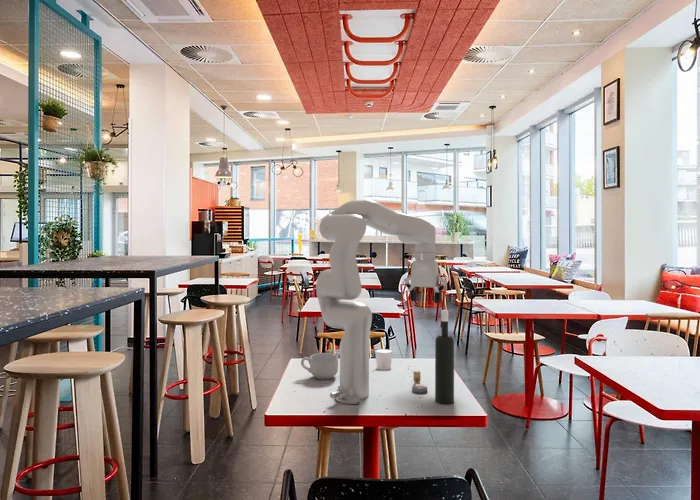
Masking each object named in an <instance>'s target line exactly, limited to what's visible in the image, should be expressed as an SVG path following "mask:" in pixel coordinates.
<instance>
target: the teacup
mask: <svg viewBox="0 0 700 500" xmlns="http://www.w3.org/2000/svg"><path fill="white" fill-rule="evenodd" d="M304 361H308V364H309V367H308V366H306V365H305V363H304ZM300 365H301V366H302V368H304V370H306V371H308V373H310V374H311V375H312V377H315V379H317V380H325V381H326V380H331V379H333V378H334V376H336V374H337V373H338V370H339V369H338V368H339V356H338V355H337V354H335V353H330V352H319V353H314V354H311V355H310V356H305V357H302V359H301V361H300Z"/></svg>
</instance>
